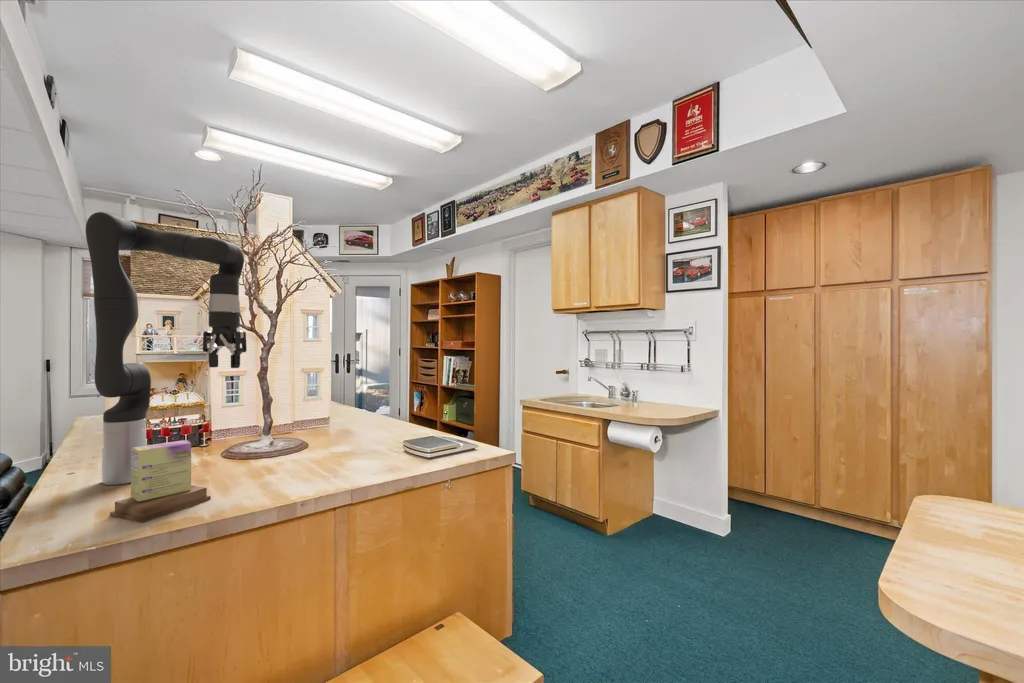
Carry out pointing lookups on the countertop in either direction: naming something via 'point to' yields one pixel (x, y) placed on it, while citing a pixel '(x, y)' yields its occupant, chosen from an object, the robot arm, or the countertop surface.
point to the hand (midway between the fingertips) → (224, 367)
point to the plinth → (158, 505)
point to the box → (160, 470)
